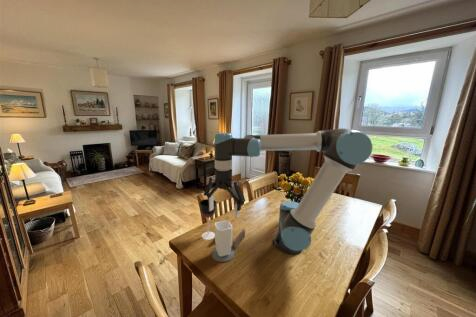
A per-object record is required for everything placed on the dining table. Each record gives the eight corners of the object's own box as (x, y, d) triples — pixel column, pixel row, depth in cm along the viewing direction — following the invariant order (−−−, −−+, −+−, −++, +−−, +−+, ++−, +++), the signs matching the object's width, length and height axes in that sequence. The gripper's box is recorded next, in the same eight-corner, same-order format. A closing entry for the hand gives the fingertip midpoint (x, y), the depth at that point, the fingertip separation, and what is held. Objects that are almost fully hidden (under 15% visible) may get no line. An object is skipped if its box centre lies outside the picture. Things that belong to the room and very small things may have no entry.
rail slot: (244, 236, 105) (245, 229, 104) (235, 250, 95) (235, 242, 94) (225, 230, 110) (226, 224, 109) (214, 242, 100) (214, 235, 99)
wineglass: (213, 241, 101) (213, 206, 97) (198, 238, 103) (197, 204, 99) (218, 232, 109) (218, 200, 105) (203, 230, 111) (203, 198, 106)
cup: (218, 259, 87) (218, 231, 84) (213, 249, 94) (213, 222, 91) (233, 255, 90) (233, 227, 87) (227, 246, 97) (228, 219, 93)
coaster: (238, 250, 95) (238, 249, 94) (227, 265, 85) (227, 264, 85) (219, 243, 99) (219, 242, 99) (207, 257, 90) (207, 256, 89)
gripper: (253, 170, 81) (252, 215, 85) (204, 163, 91) (206, 204, 96) (246, 174, 74) (245, 223, 79) (195, 167, 85) (196, 210, 89)
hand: (223, 213), depth 87 cm, fingers open, 13 cm apart
